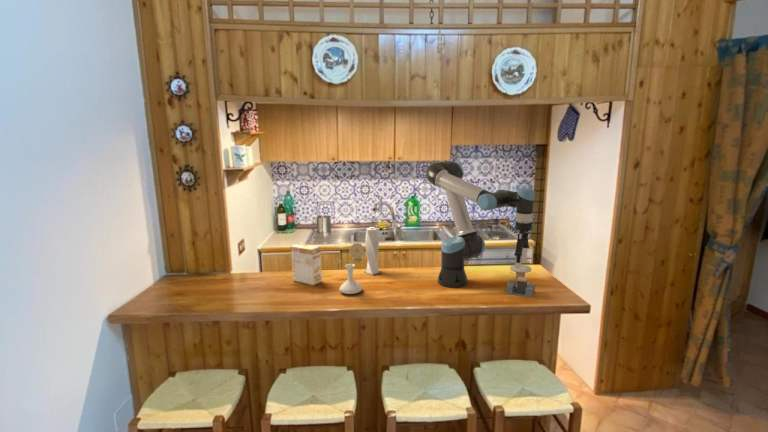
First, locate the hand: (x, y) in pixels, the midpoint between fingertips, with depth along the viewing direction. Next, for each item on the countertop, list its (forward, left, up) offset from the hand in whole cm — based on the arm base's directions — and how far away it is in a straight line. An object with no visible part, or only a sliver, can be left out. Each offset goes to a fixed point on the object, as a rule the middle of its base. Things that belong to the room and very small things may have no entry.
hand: (520, 264), depth 197 cm
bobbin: (-2, +10, -14) cm, 17 cm away
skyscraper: (-79, -6, -14) cm, 80 cm away
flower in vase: (-74, -35, -14) cm, 83 cm away
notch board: (0, 0, -14) cm, 14 cm away
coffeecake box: (-104, -33, -14) cm, 110 cm away
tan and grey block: (+1, -1, -13) cm, 14 cm away
